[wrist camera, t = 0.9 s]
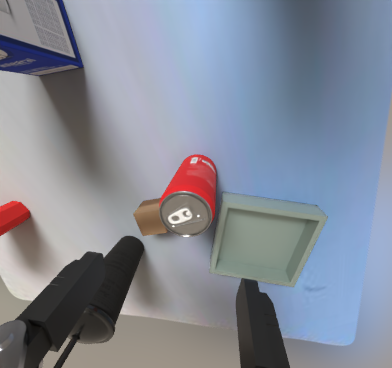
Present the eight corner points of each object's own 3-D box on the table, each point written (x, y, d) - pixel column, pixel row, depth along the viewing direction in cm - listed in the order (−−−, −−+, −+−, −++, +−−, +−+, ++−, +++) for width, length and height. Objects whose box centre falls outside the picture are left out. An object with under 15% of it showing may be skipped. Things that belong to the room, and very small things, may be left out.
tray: (222, 191, 28) (223, 201, 25) (317, 205, 27) (328, 216, 24) (210, 258, 34) (209, 272, 31) (287, 271, 33) (293, 287, 30)
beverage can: (222, 177, 27) (225, 228, 16) (192, 190, 28) (175, 245, 17) (206, 146, 25) (197, 179, 14) (175, 162, 27) (144, 202, 16)
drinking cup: (139, 225, 32) (37, 382, 14) (157, 256, 35) (91, 423, 17) (104, 234, 34) (-25, 384, 16) (124, 263, 37) (32, 420, 19)
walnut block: (143, 200, 30) (133, 214, 27) (165, 196, 29) (158, 210, 26) (151, 220, 32) (142, 235, 28) (172, 217, 31) (166, 232, 27)
